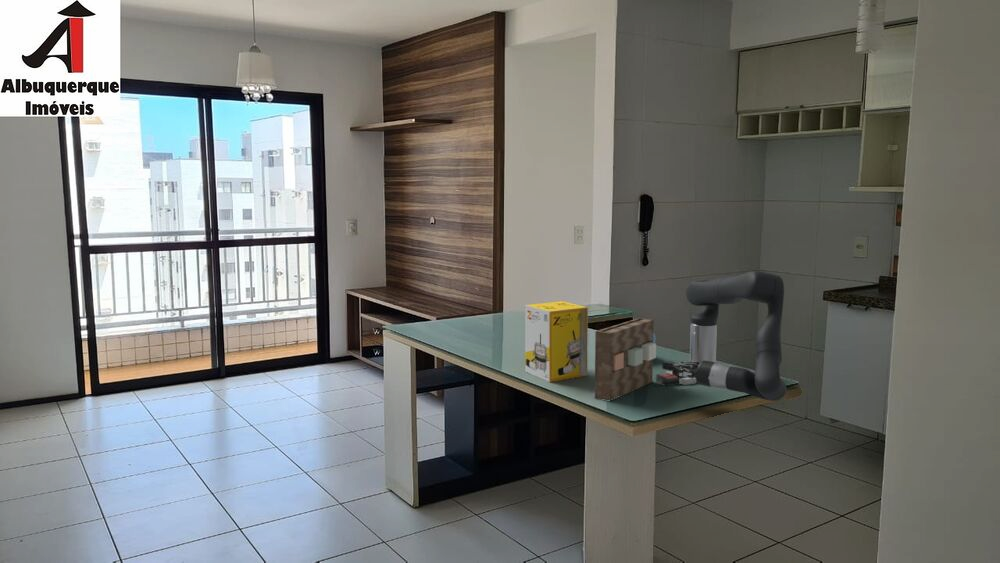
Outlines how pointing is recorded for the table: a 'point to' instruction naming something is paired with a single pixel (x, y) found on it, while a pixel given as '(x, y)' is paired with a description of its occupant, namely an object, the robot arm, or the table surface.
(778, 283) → the robot arm
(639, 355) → the sage key
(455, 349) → the table surface
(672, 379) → the walkie-talkie
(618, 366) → the terracotta key
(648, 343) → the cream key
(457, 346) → the table surface
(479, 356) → the table surface
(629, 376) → the keypad panel
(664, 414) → the table surface
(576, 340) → the packaging box
